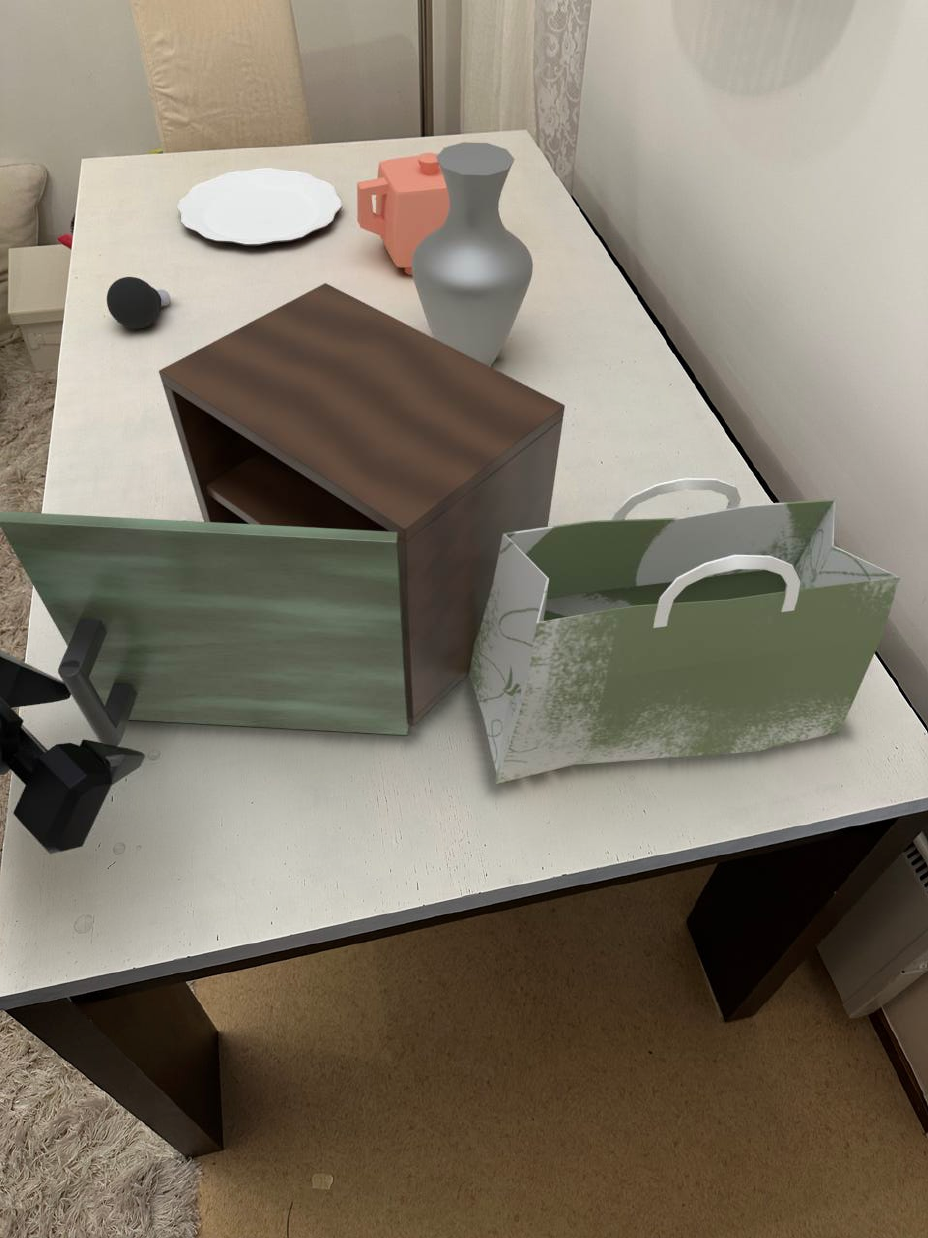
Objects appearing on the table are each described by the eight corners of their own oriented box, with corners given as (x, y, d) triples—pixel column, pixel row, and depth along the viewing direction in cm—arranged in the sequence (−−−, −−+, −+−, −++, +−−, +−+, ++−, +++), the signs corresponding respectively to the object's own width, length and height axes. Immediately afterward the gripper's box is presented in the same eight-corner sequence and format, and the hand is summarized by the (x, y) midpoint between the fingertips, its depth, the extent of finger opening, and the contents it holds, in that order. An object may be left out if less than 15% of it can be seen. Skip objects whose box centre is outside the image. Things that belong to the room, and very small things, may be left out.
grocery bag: (778, 620, 84) (871, 433, 66) (842, 740, 75) (968, 562, 57) (461, 663, 80) (467, 475, 62) (490, 794, 71) (507, 621, 53)
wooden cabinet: (413, 726, 74) (405, 529, 56) (220, 578, 85) (158, 370, 66) (536, 609, 83) (565, 404, 64) (348, 488, 94) (325, 282, 75)
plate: (217, 172, 143) (215, 160, 141) (360, 189, 140) (359, 177, 139) (154, 243, 127) (150, 230, 126) (313, 263, 124) (312, 251, 123)
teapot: (488, 226, 133) (493, 129, 122) (516, 265, 125) (523, 166, 114) (352, 244, 128) (344, 145, 117) (372, 286, 121) (365, 185, 110)
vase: (545, 353, 111) (567, 152, 92) (482, 406, 104) (492, 200, 84) (457, 316, 116) (460, 119, 97) (391, 364, 109) (380, 161, 89)
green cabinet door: (401, 790, 70) (387, 604, 52) (88, 772, 71) (-38, 581, 52) (408, 725, 74) (398, 531, 56) (111, 709, 75) (2, 510, 56)
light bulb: (181, 271, 114) (130, 278, 106) (190, 321, 117) (141, 332, 108) (143, 272, 116) (90, 279, 108) (153, 321, 119) (102, 331, 111)
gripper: (-219, 765, 56) (1, 742, 70) (-76, 953, 49) (137, 885, 63) (-164, 621, 54) (51, 627, 68) (-6, 796, 46) (199, 762, 60)
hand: (105, 725), depth 65 cm, fingers open, 9 cm apart
